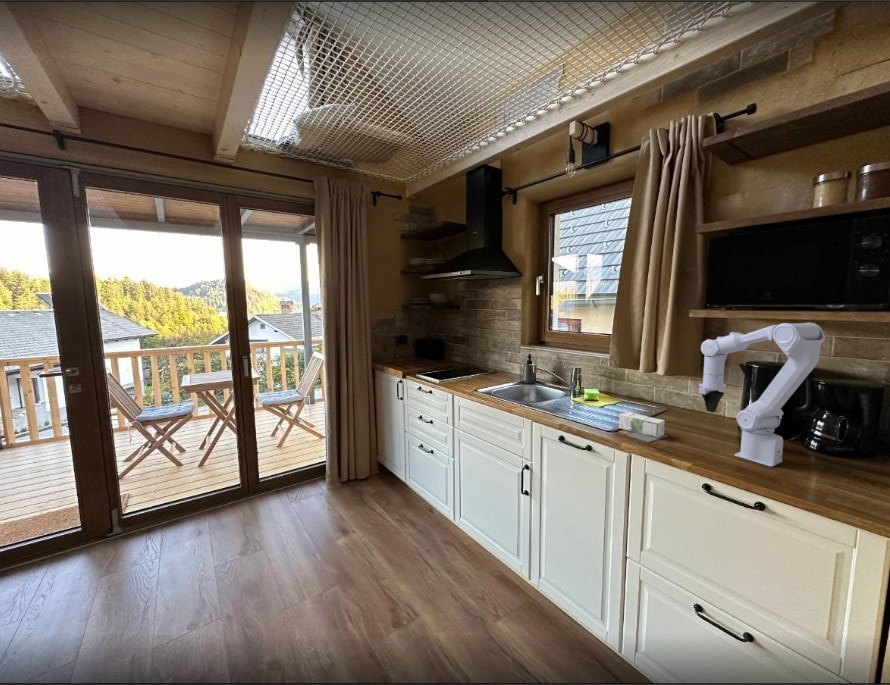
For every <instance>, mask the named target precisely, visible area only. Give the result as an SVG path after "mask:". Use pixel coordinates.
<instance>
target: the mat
mask: <svg viewBox="0 0 890 685" xmlns="http://www.w3.org/2000/svg"><path fill="white" fill-rule="evenodd" d="M625 436H627V437H629V438H632V437H633V438H632V439H635V438H636V439H635V440H638V439H639V441H641V440H642V442H644V441H646V442H645V443H648V442H649V443H652V442H655V441H658V440H660V439H664V438H667V437H668V435H667V434H664V435H663V436H660V437H658V438H655V437H651V436H647V435H644V434H640V433H636V432H630V433H627V434H625ZM651 441H652V442H651Z"/></svg>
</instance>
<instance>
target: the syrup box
mask: <svg viewBox="0 0 890 685" xmlns="http://www.w3.org/2000/svg"><path fill="white" fill-rule="evenodd" d="M618 416H619V417H618V418H619V420H618V421H619V422H618V429H622V430H626V431H629V432H631V433H633V432H636V433H640V434H644V435H647V436H651V437H655V438H658V437H660V436H663V435H665V423H666V421H665V419H661V418H656V417H652V416H647V415H642V414H638V413H635V412H630V411H624V412H621V413H619V414H618Z"/></svg>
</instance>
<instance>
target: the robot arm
mask: <svg viewBox="0 0 890 685" xmlns="http://www.w3.org/2000/svg"><path fill="white" fill-rule="evenodd" d="M825 340H826V336H825V333H824V331H823V330H822V327H821V326H820V325H818V324H817V323H813V322H802V323H799V322H798V323H790V322H789V323H788V322H782V323H780V324H772V325H769V326H767V327H764V328H760V329H757V330H754V331H751V332H749V333H746V334H744V333H743V332H742V333H741V332H737V331H732V332H729V334H728V335H724V336H717V337H716V339H706V340H704V341H703V342H702V343H701V346H700V351H701V353H702V354H703V355H704V358H703V360H704V361H703V376H702V378H703V379H702V383H699V384H698V386H699V388H698V395H700V394H701V397H702V398H703V401H704V405H705V409H706V411H707V412H709V413H715V412H716V411H717V408H718V406H719V403H720V401H721V399H722V398H723V397H724V396H725V392H723V390H726V389H727V384H726V383H724V378H725V377H724V376H725V362H726V360H727V356H728V355H729V354H732V353H735V352H739V351H743V350H746V349H747V348H749V345H751V344H755V343H756V344H757V343H761V342H765V341H771V342H772V341H773V342H775V343H776V345H777V347H779V348H780V350H781V351H782V353H784V355H785V356H787V358H788V359H787V361H786V362H785V363H784V365H783V366H782V367H781V369H780V370H779V371H778V373H777V374H776V376H774V378H773V379H772V381H771V382H770V383H769V384H768V386H767V387H766V389H765V390H763V393H762V394H761V396H760V397H758V399H757V400H756V401H754V402H752V403H750V404H748V405H747V406H746V407H745V408H744V409H742V410H740V411H739V412H737V414H736V422H737V424H738V426H739V427H740V430H741V440H740V441H741V442H740V451H739V452H737V453H734V457H736V458H737V457H738V458H740V459H743V460H748V461H751V462H755V463H758V464H761V465H764V466H767V467H770V468H771V467H775V466H776V465H779V464H780V463H783V453H784V452H783V449H784V439H783V436H781V435H778V434H775V433H774V432H775V429H776V428H778V427H779V426H780V424H781V419H782V416H783V415H784V411H783V410H782V407H783V406H785V404H786V403H787V402H788V400H789V399H790V398H791V397H792V395H793V394H794V393H795V392H796V390H797V389H798V388H799V387H800V385H801V384H802V383H803V382H804V381H805V379H806V378H807V377H808V376H809V375H810V373H811V372H812V371H813V369H814V368H815V367H817V365H818V363H819V361H820V354H821V347H822V344H823V342H825Z"/></svg>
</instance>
